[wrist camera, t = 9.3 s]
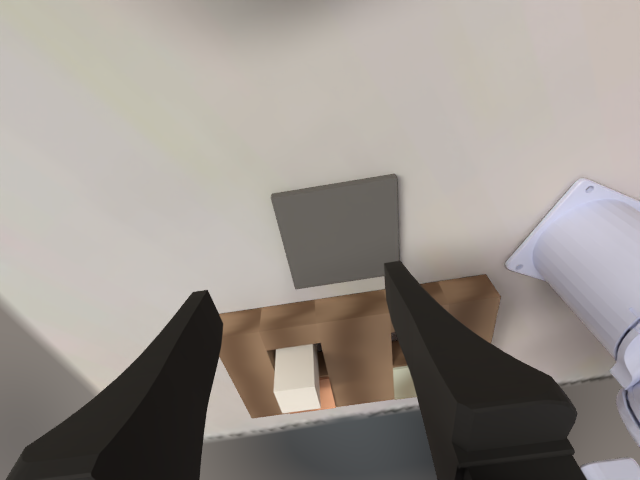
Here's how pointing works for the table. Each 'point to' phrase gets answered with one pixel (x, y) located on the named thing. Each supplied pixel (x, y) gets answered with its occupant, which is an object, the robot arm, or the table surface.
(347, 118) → the table surface
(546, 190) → the table surface
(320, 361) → the socket block
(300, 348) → the plug
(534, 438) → the robot arm
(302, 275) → the grey square plate
